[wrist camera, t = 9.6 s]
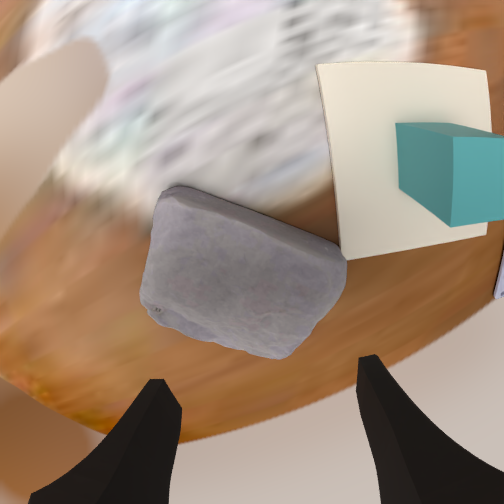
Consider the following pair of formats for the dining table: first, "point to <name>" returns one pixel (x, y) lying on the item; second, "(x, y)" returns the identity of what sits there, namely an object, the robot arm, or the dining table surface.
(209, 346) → the dining table surface
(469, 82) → the coaster
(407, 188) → the teal block
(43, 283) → the dining table surface
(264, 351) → the stone block
